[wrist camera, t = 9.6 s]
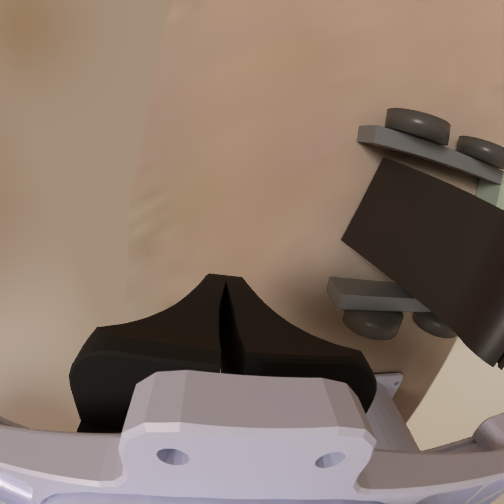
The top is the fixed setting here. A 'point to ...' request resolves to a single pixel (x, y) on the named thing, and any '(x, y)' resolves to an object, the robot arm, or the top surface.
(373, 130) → the chassis bay
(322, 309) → the top surface
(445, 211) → the phone stand
